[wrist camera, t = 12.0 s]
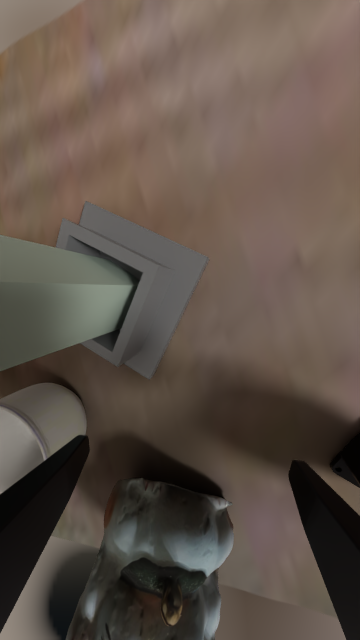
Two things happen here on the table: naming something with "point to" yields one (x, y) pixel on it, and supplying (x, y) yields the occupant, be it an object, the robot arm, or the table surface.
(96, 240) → the grey square socket base
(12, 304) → the sage block
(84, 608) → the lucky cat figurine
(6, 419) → the teacup
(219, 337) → the table surface
